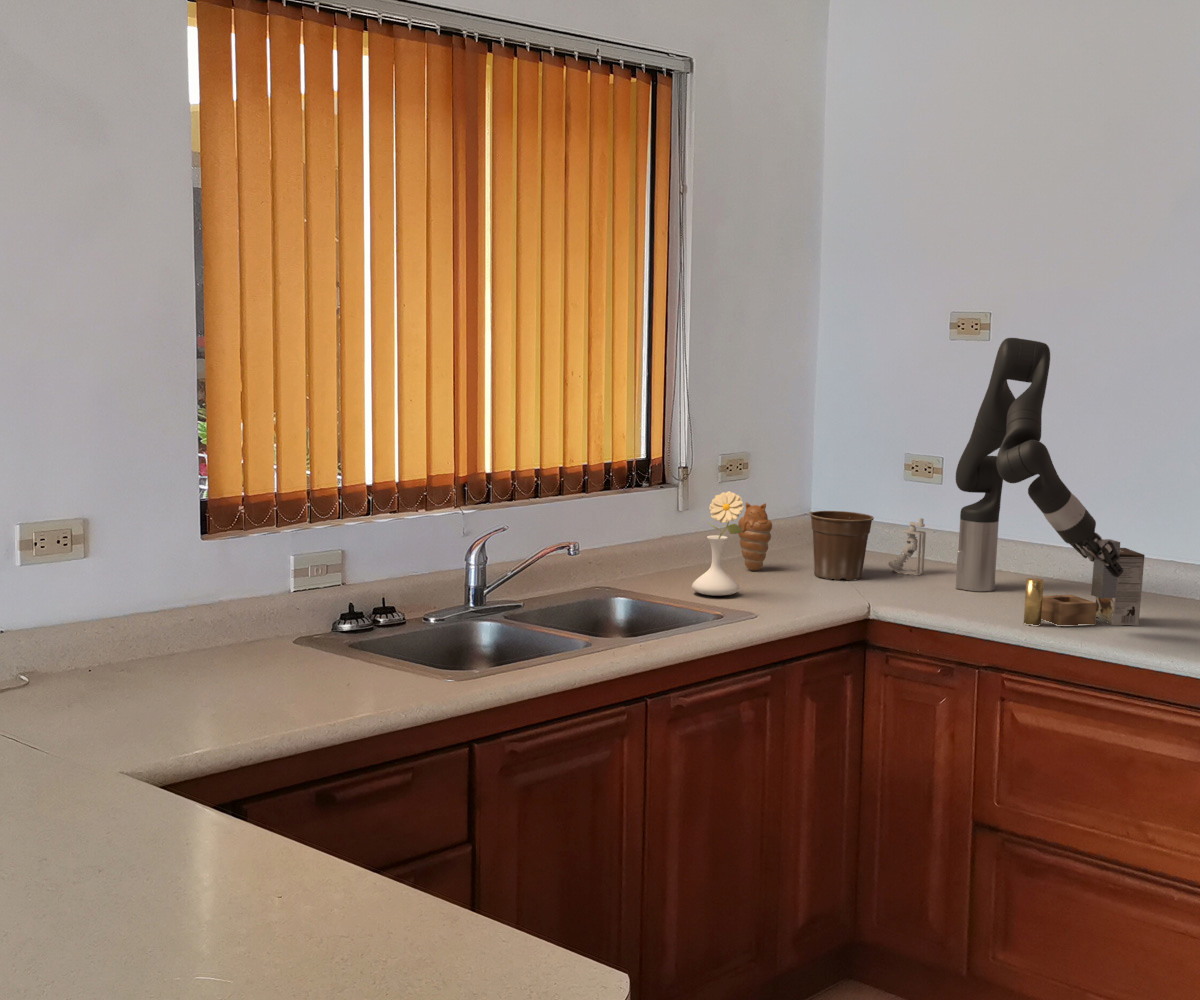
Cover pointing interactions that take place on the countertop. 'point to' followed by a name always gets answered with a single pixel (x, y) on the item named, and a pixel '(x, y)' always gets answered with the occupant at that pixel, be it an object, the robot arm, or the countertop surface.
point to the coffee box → (1124, 592)
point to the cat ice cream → (754, 535)
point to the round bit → (1033, 601)
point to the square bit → (1104, 577)
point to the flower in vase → (720, 547)
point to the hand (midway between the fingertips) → (1113, 571)
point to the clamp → (911, 549)
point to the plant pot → (839, 543)
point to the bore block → (1068, 610)
